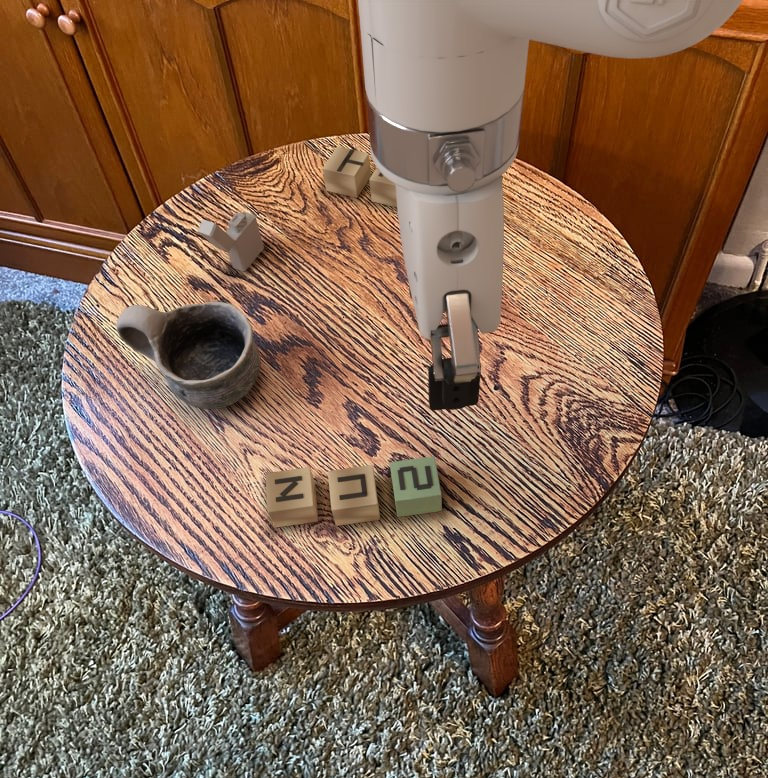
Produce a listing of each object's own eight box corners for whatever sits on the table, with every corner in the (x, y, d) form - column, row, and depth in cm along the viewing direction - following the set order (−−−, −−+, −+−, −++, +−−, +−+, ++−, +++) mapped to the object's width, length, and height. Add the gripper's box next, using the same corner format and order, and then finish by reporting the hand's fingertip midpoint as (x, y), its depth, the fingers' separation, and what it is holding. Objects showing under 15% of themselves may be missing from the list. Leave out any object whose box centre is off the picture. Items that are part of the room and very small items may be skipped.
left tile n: (315, 483, 71) (309, 465, 68) (318, 521, 69) (313, 505, 66) (272, 489, 71) (265, 472, 68) (274, 528, 69) (267, 511, 66)
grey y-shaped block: (252, 242, 86) (234, 181, 79) (265, 246, 86) (248, 186, 79) (216, 285, 83) (194, 226, 76) (229, 290, 83) (209, 231, 76)
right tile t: (417, 186, 88) (416, 162, 86) (403, 209, 87) (402, 186, 84) (385, 178, 89) (383, 155, 87) (371, 201, 88) (368, 178, 85)
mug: (263, 425, 74) (238, 358, 65) (137, 428, 75) (95, 362, 66) (272, 346, 79) (250, 274, 70) (153, 350, 80) (116, 279, 71)
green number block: (435, 473, 70) (434, 454, 67) (441, 511, 68) (441, 494, 66) (391, 479, 70) (389, 461, 67) (397, 517, 68) (395, 500, 66)
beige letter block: (372, 176, 90) (370, 152, 87) (358, 198, 88) (355, 175, 85) (340, 168, 91) (337, 145, 88) (326, 190, 89) (322, 167, 86)
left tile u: (375, 481, 70) (372, 463, 67) (380, 519, 68) (377, 503, 66) (332, 487, 70) (327, 470, 68) (336, 526, 68) (331, 509, 66)
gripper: (558, 231, 34) (521, 445, 49) (488, 9, 42) (474, 251, 57) (389, 253, 34) (404, 460, 49) (352, 27, 42) (374, 264, 57)
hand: (442, 347), depth 53 cm, fingers open, 9 cm apart
